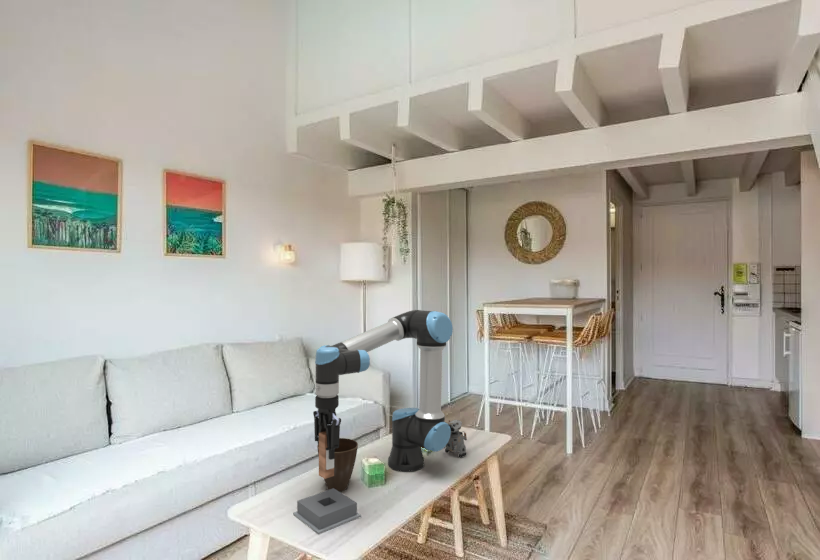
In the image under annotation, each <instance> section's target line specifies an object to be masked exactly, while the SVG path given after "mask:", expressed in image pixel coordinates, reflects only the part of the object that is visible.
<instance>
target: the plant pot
mask: <svg viewBox="0 0 820 560" xmlns="http://www.w3.org/2000/svg"><path fill="white" fill-rule="evenodd" d="M358 446H359V444H358V442H357V441H356V440H354V439H351V438H344V437H339V448H336V449H335V458H334V476H332V477H329V478H326V479H324V478H323V481H324V483H325V486H326V489H327V490H330V489H332V488H334V489H336V490H337V491H339V492H344V491H345V490H346V489H348V488H349V487H348V486H349V484H350V481H351V479H352V475H353V473H354V469H355V464H356V460H357V453H358ZM316 447H317V455H318V457H319V445H318V444H317V446H316Z"/></svg>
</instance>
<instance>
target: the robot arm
mask: <svg viewBox="0 0 820 560" xmlns="http://www.w3.org/2000/svg"><path fill="white" fill-rule="evenodd" d="M453 330H454V329H453V323H452V320H451V319H450V317H449V315H447V314H446V313H444V312H441V311H435V310H421V309H413V310H409V311H406V312H403V313H400V314H397V315H395V316H393V317H391V318H389V319H388V320H387V322H385V323H383V324H380V325H379V326H376V327H374V328H371V329H369V330H366V331H364V332H362V333H358V334H356V335H355V336H351V337H349V338H348V339H345V340H343V341H340V342H337V343H335V344H333V345H329V344H328V345H321V346H320V347H319V348H318V349H316V353H315V359H314V360H315V361H314V364H315V387H314V390H315V398H314V399H315V401H314V403H315V405H314V406H315V408H316V409H317V410H314V411H313V412H312V413H313V420H314V424H313V425H314V441H315V442H316V443H317V445H319V433H321V432H325V431H326V435H327V447H328V448H326V470H328V469H332V468H334V458H335V449H336V448H339V438H340V435H341V425H342V423H341V422H342V419H341V418H340V417H337V412H336V409H337V408H338V407H339V394H340V392H339V391H340V387H339V386H340V384H339V381H340V380H339V379H340V376H344V375H349V374H356V373H358V374H359V373H362V372H365V371H367V370H368V369H369V367H370V363H371V358H370V355H369V352H371V351H373V350H375V349H378V348H380V347H382V346H384V345H386V344H389V343H391V342H393V341H398V342H399V341H402V340H404V339H416V346H417V347H418V348H419V351H420V359H419V362H420V363H419V405H418V407H419V408H418V407H403V408H398V409H396V410H394V411H393V412H392V419H391V437H392V438H391V440H392V441H391V450H390V452H389V456H388V457H387V466H388V468H389V469H391V470H394V471H396V472H404V473H405V472H406V473H408V472H409V473H410V472H415V471H419V470H421V469H423V468H424V467H425V458H424V455H423V451H422V450H423V449H421V447H422V448H425V449H426V450H431V451H432V452H433V453H434V452H439V451H442V450H443V449H445V448H444V447H445V446H446V444H447V443H448V441H449V439H450V435H451V429H450V426H449V425H448V424H447V423H448V422H446V419H445V416H446V415H445V413H444V412H443V411H442V385H443V384H442V382H443V381H442V377H443V376H442V373H443V372H442V371H443V350H444V349H445V348H446V347H447V342H448V341H450V339H451V337H452V336H453V332H454V331H453Z"/></svg>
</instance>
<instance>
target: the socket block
mask: <svg viewBox="0 0 820 560" xmlns="http://www.w3.org/2000/svg"><path fill="white" fill-rule="evenodd" d="M296 503H297V504H296V506H297V507H296V509H297V510H296V511H294V512H292V516H294V517H296V519H298V520H299V521H300V522H302V523H303V524H304V525H305V526H307V527H308V528H310V529H311V530H312V531H313V532H315V533H316V534H317V535H320V534H323V533H326V532H328V531H330V530H332V529H335V528H337V527H340V526H342V525H344V524H348V523H350V522H352V521H354V520H356V518H357V519H359V518H361V517H362V514H360V513H359V512H358V503H357V501H355V500H353V499H352V498H350V497H348V496H347V495H345V494H344V493H342V491H340V492H339V491H337V490H336V489H334V488H332V489H330V490H328V489H327V490H324V491H322V492H317V493H316V494H313V495H309V496H307V497H304V498H301V499H299V500H297V501H296Z"/></svg>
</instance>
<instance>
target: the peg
mask: <svg viewBox="0 0 820 560" xmlns="http://www.w3.org/2000/svg"><path fill="white" fill-rule="evenodd" d="M326 448H328V447H327V435H326V431H325V432H321V433H319V456H318V476H319V477H320V478H322V479H323V480H324V479H326V478H329V477H332V476H334V468H332V469H328V470H326Z"/></svg>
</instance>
